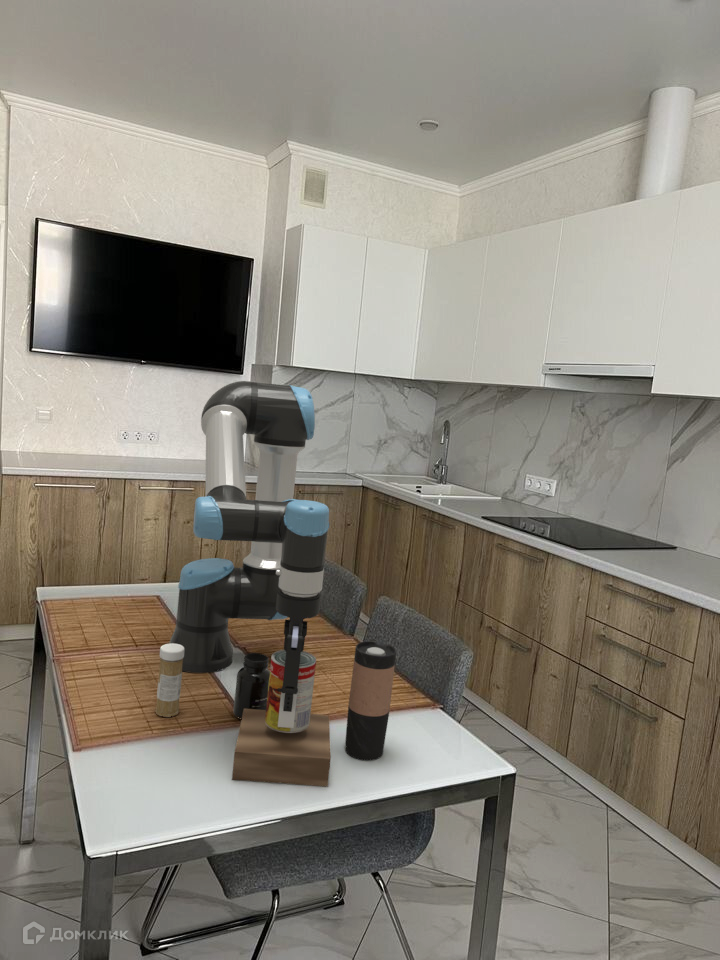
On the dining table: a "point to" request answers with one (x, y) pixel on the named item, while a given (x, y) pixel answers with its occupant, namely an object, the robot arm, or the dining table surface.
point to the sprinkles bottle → (169, 679)
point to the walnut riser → (282, 752)
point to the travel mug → (369, 700)
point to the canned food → (303, 692)
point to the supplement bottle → (252, 684)
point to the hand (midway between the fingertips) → (286, 714)
